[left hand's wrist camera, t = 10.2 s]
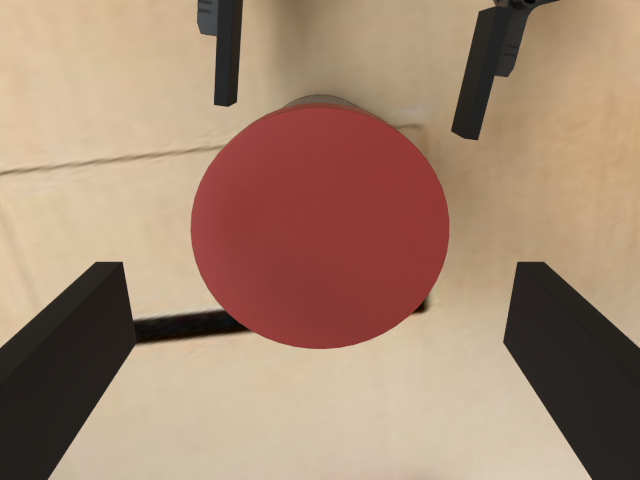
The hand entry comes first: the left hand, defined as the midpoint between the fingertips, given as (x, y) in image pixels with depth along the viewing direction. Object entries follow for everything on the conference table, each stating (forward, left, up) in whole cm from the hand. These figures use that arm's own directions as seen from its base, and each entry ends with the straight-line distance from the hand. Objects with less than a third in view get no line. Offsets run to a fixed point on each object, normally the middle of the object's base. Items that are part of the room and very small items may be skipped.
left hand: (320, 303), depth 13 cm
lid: (0, 0, -5) cm, 5 cm away
